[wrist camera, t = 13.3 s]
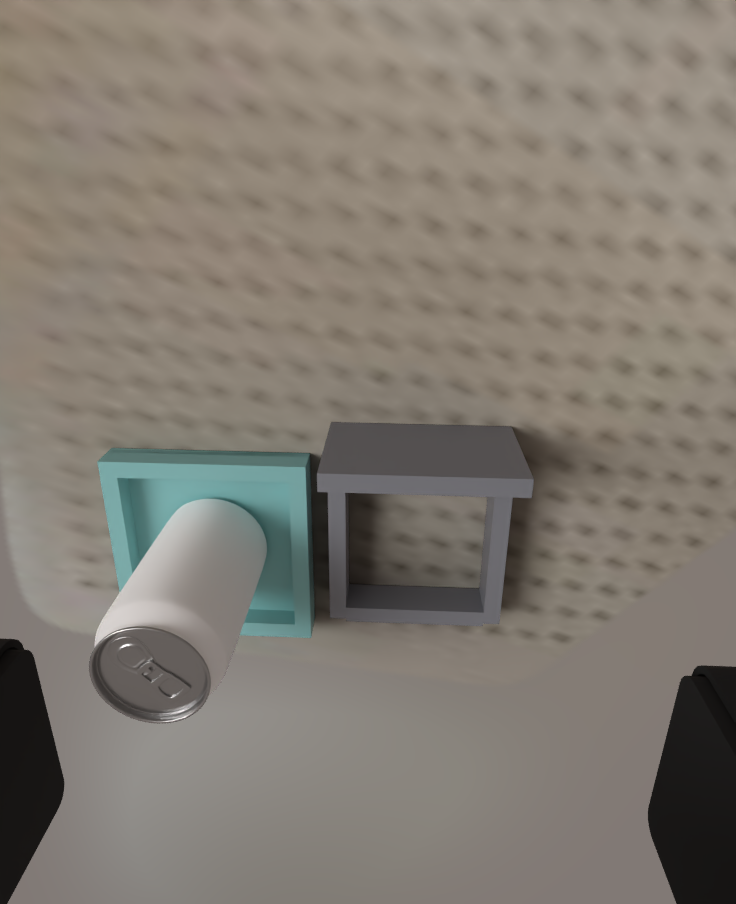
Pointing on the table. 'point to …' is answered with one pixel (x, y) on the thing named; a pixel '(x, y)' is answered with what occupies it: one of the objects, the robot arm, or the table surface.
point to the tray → (230, 479)
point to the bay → (422, 473)
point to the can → (180, 614)
